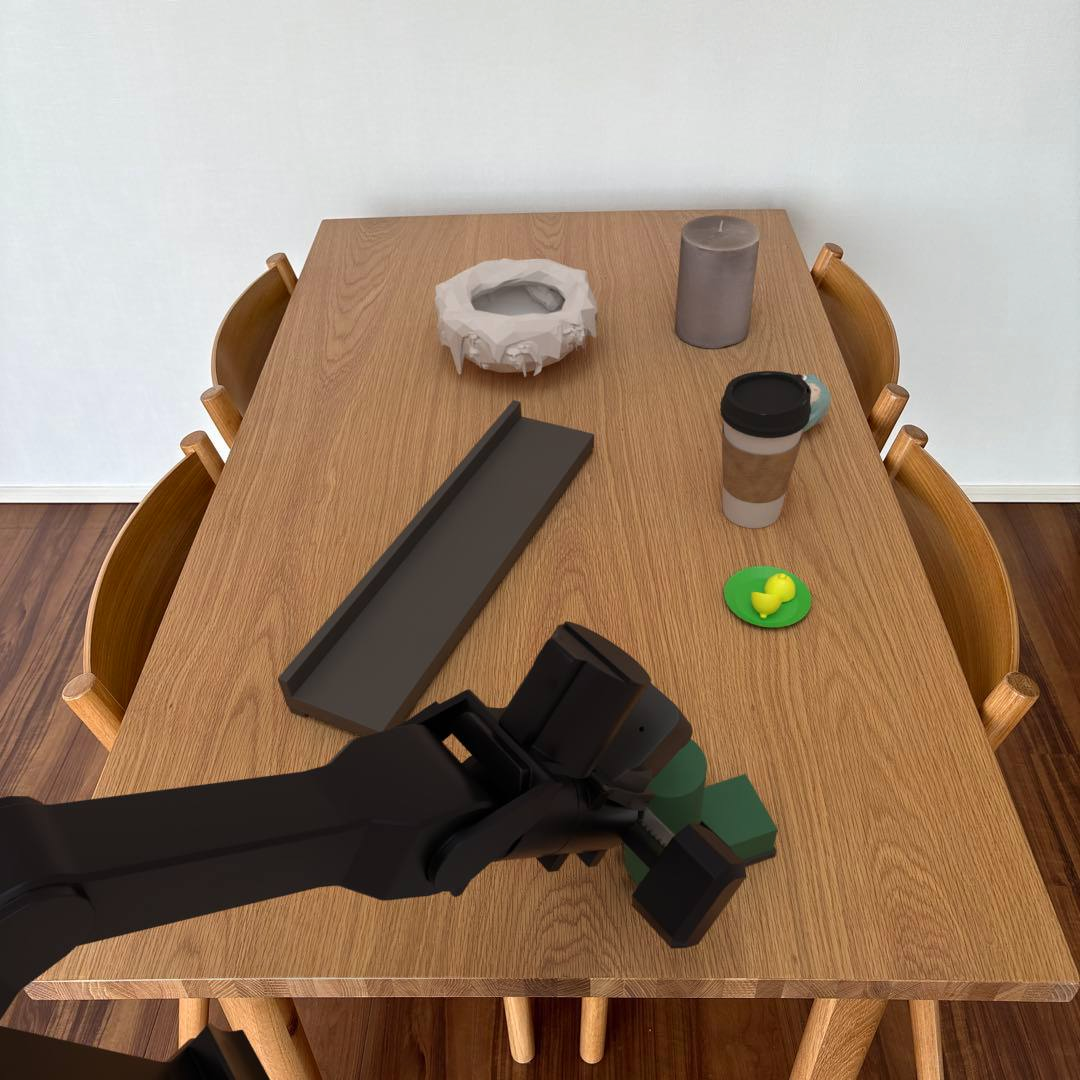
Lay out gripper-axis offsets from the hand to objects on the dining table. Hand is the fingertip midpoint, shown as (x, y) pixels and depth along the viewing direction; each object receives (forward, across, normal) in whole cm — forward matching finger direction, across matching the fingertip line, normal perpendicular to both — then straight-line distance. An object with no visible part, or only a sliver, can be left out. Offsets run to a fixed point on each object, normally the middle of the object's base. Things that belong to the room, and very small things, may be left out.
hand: (669, 800), depth 66 cm
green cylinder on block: (+7, -1, +4) cm, 8 cm away
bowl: (+30, +63, -19) cm, 72 cm away
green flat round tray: (+23, +13, -12) cm, 29 cm away
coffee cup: (+30, +22, -18) cm, 41 cm away
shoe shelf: (+10, +36, +1) cm, 37 cm away
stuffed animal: (+39, +31, -28) cm, 57 cm away
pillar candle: (+46, +50, -35) cm, 77 cm away
